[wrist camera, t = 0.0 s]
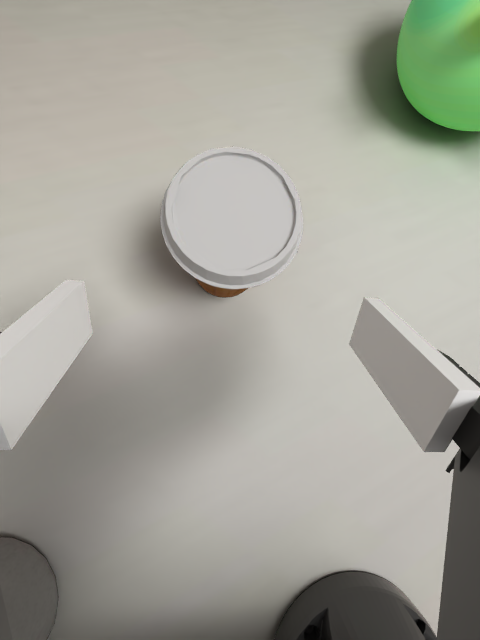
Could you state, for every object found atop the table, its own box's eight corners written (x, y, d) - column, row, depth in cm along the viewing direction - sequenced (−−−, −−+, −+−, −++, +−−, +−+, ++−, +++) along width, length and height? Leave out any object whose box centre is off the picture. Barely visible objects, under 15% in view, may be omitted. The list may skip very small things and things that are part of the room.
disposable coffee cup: (223, 204, 31) (232, 111, 19) (289, 267, 31) (338, 212, 19) (156, 267, 30) (123, 207, 18) (226, 333, 30) (238, 316, 18)
